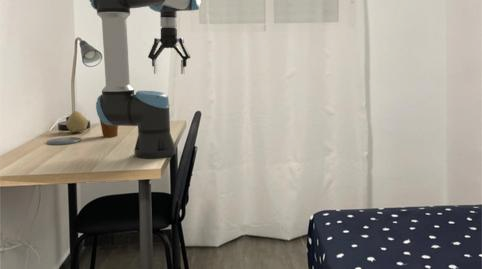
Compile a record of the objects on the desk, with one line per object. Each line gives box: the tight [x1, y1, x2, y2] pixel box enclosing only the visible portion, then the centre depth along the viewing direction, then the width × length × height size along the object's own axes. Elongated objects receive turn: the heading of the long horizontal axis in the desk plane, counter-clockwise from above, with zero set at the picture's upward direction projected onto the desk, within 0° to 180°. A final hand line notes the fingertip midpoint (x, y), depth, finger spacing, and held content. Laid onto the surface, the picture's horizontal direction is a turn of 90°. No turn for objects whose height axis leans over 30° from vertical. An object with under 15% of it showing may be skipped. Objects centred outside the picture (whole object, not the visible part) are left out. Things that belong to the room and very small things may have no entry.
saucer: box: [46, 136, 82, 146], centre depth 203 cm, size 14×14×1 cm
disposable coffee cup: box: [99, 119, 119, 138], centre depth 214 cm, size 10×10×12 cm
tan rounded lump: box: [65, 110, 89, 134], centre depth 227 cm, size 10×12×11 cm
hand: (169, 74), depth 219 cm, fingers open, 13 cm apart
